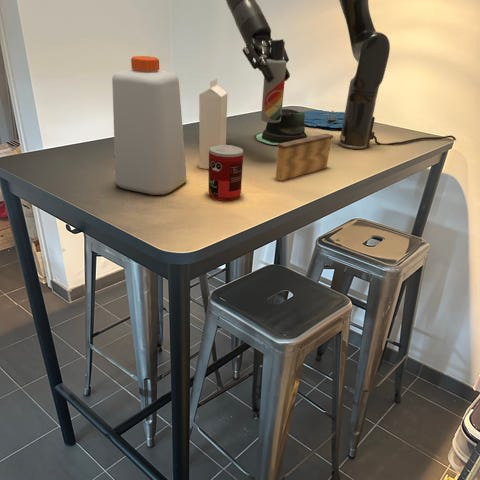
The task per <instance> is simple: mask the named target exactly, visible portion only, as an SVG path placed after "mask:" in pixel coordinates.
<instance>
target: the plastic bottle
mask: <svg viewBox="0 0 480 480" xmlns="http://www.w3.org/2000/svg"><path fill="white" fill-rule="evenodd" d="M130 64H131V65H130V67H131V68H129V69H124V70H120V71H117V72H115V73H114V74H113V75H112V79H111V81H112V84H111V86H112V112H113V113H112V114H113V117H112V118H113V143H114V145H113V146H114V148H113V149H114V173H115V175H114V176H115V177H114V178H115V183H116V185H117V186H118V187H119V188H121V189H123V190H127V191H133V192H136V193H141V194H142V193H143V194H147V195H153V196H163V195H168V194H170V193H171V192H173V191H174V190H176V189H177V188H178V187H181V186H182V185H183V184H184V183H185V182H186V181H187V178H188V177H187V164H186V153H185V141H184V139H185V138H184V128H183V126H184V125H183V116H182V115H183V114H182V103H181V91H180V79H179V76H178V75H177V74H176V73H175V72H172V71H167V70H161V69H160V59H159V58H158V57H155V56H151V55H150V56H149V55H134V56H132V57H131V58H130Z"/></svg>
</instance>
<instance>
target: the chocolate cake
mask: <svg viewBox="0 0 480 480" xmlns="http://www.w3.org/2000/svg"><path fill="white" fill-rule="evenodd" d="M304 120H305V114H304V113H302V112H301V111H298V110H295V109H291V108H282V115H281V121H280V122H276V123H270V122H266V126H265V129H264V130H263V132H262V133H259V134H257V135H256V136H255V139H256V140H257V141H260V142H262V143H263V144H268V145H272V146H277V144H279V143H284V142H289V141H294V140H298V139H303V138H308V137H309V136H308V135H307V134H306V130H305V129H306V126H305V124H304Z"/></svg>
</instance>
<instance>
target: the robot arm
mask: <svg viewBox="0 0 480 480" xmlns="http://www.w3.org/2000/svg"><path fill="white" fill-rule="evenodd" d="M225 2H226V5H227V8H228V9H229V12H230V13H231V15H232V18H233V20H234V23H235V25H236V28H237V30H238V31H239V33H240V36H241V37H242V40H243V42H244V47H243V48H242V53H243V54H244V56H245V58H246V59H247V61H248V62H249V64H250V65H251V68H253V70H256V69H258V71H259V72H261V74H262V76H263V79H264V78H265V79H266V81H267V82H268V83H270V82H271V81H272V80H273V79H274V76H273V74H272V72H271V70H270V68H269V66H268V65H267V59H270V58H269V54H270V41H273V40H274V39H272V35H271V34H272V29H271V27H270V25H269V23H268V20H267V18H266V16H265V15H264V12H263V11H262V8H261V6H260V5H259V4H258V2H257V0H225ZM338 2H339V4H340V5H339V6H340V8H341V11H342V15H343V16H344V20H345V23H346V27H347V31H348V36H349V42H350V49H351V53H352V57H353V58H354V60H355V61H356V62H357V67H356V72H355V75H354V76H353V77H352V78H351V79H350V81H349V85H348V92H347V98H346V103H345V110H344V112H345V114H344V120H343V123H342V124H343V125H342V128H341V131H340V134H339V142H338V145H339V146H341V147H343V148H347V149H352V150H363V149H366V148H370V145H371V144H370V143H371V140H372V141H373V140H374V143H375V144H376V145H379V146H395V145H403V144H406V143H407V144H408V143H411V142H416V141H422V140H444V139H448V138H450V139H453V141H457V138H456V137H455V136H454V135H445V136H444V135H443V136H424V137H417V138H413V139H408V140H403V141H395V142H388V143H382V142H379V141H378V138H377V136H376V135H375V131H373V130H374V124H375V119H376V117H375V116H374V112H375V108H376V102H377V98H378V95H379V94H378V93H379V89H380V87H381V84H382V83H383V80H384V78H385V73H386V70H387V64H388V61H389V57H390V51H391V43H390V40H389V37H388V36H387V35H386V34H384V33H383V32H379V31H377V30H376V28H375V26H374V22H373V19H372V16H371V13H370V12H371V11H370V6H369V0H338ZM282 60H285V61H286V64H287V63H288V62H289V61H290V58H289V56H288V53H287V50H286V48H285V46H284V56H283V59H282ZM290 77H291V74H290V71H289V69H288V68H287V66H286V73H285V82H287V81H288V80H289V79H290Z"/></svg>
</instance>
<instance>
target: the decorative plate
mask: <svg viewBox="0 0 480 480" xmlns="http://www.w3.org/2000/svg"><path fill="white" fill-rule="evenodd" d="M300 112H302V113H304V114H305V120H304V126H309V127H314V128H316V127H325V128H334V129H337V128H338V129H342V125H343V120H344V114H345V111H334V110H331V111H330V110H322V109H311V110H304V111H303V110H301V111H300Z"/></svg>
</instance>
